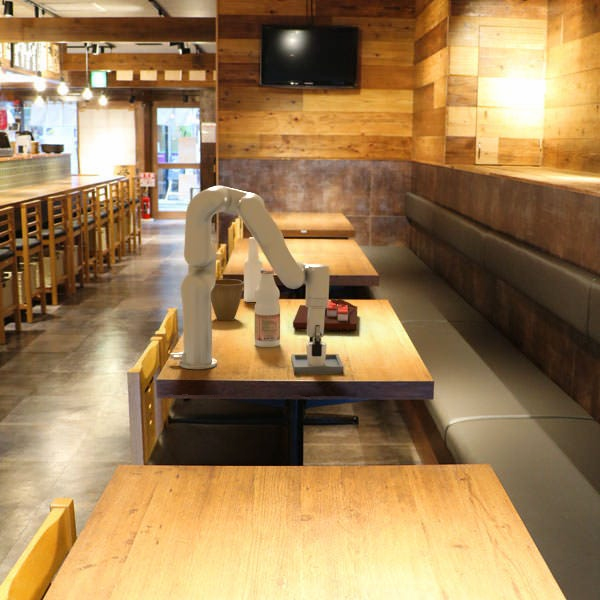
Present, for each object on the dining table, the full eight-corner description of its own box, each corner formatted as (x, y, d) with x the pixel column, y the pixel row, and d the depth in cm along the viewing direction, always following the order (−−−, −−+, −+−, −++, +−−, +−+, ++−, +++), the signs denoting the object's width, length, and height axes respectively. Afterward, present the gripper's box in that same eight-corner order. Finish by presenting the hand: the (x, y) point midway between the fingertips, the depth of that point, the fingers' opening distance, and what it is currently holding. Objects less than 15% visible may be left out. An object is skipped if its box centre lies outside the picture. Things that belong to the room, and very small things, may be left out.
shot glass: (314, 360, 282) (314, 340, 280) (330, 363, 277) (331, 343, 276) (301, 364, 276) (301, 343, 275) (318, 368, 272) (318, 347, 271)
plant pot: (217, 324, 340) (217, 285, 337) (202, 317, 353) (202, 280, 350) (249, 320, 348) (249, 282, 345) (234, 314, 360) (234, 277, 357)
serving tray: (294, 374, 269) (294, 367, 268) (291, 361, 284) (291, 354, 284) (343, 373, 270) (343, 366, 269) (337, 361, 285) (338, 353, 285)
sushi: (357, 316, 359) (357, 289, 357) (356, 335, 325) (356, 305, 323) (299, 315, 361) (300, 288, 359) (292, 333, 327) (293, 303, 325)
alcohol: (265, 300, 392) (265, 236, 386) (260, 303, 383) (259, 238, 377) (247, 299, 394) (246, 236, 388) (241, 302, 385) (241, 238, 379)
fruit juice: (249, 344, 307) (248, 269, 302) (266, 340, 314) (266, 266, 309) (267, 349, 301) (267, 272, 295) (285, 344, 308) (285, 269, 302)
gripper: (303, 296, 281) (302, 345, 284) (307, 306, 264) (305, 359, 267) (325, 297, 282) (324, 346, 285) (331, 307, 265) (329, 359, 268)
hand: (315, 352), depth 276 cm, fingers open, 9 cm apart
